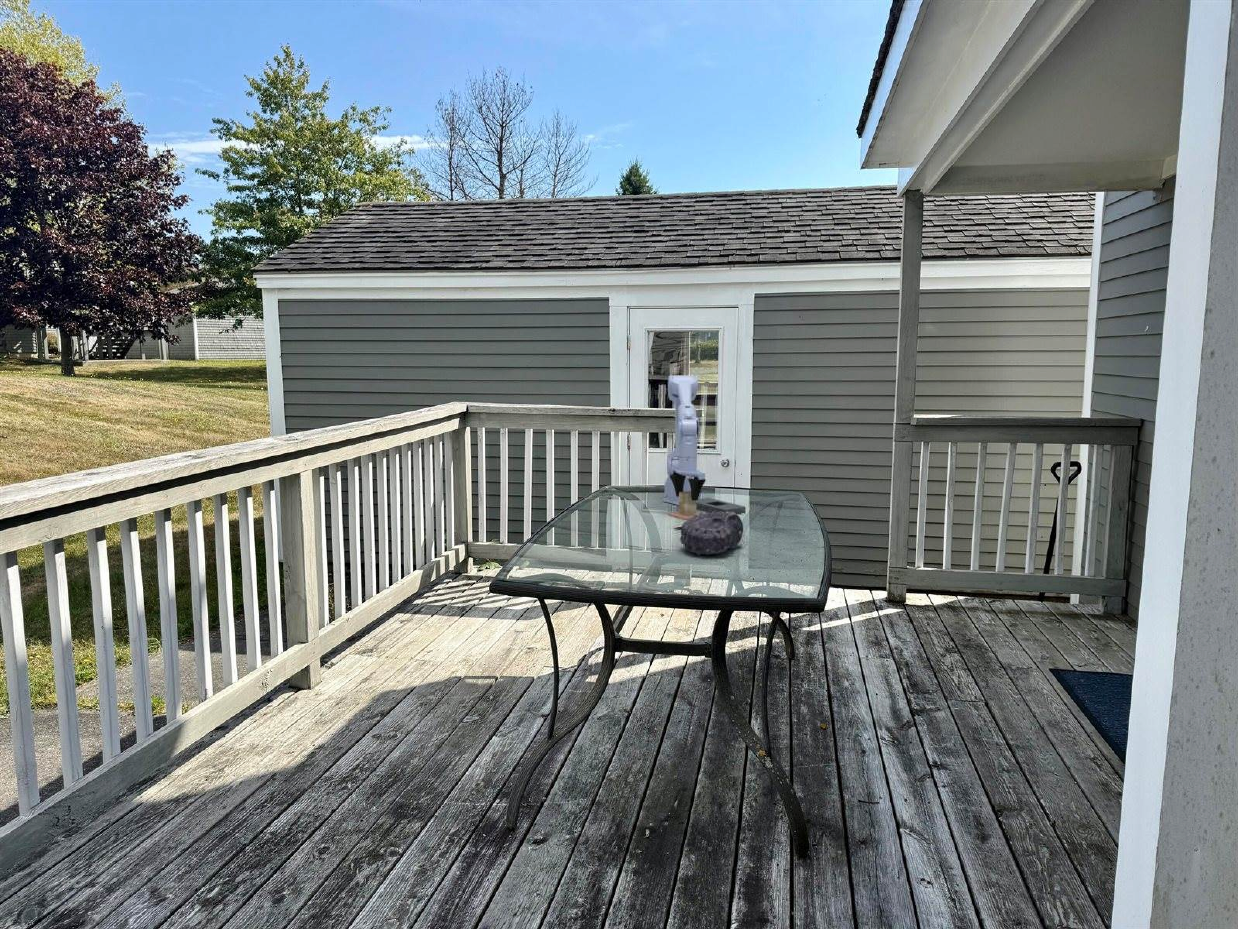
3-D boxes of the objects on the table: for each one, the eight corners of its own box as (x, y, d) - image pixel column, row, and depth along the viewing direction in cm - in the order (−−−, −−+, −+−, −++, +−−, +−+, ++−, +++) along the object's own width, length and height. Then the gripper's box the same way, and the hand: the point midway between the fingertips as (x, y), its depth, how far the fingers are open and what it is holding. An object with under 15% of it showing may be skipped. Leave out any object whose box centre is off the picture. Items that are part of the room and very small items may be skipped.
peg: (678, 513, 275) (679, 492, 274) (688, 512, 278) (688, 490, 277) (686, 515, 272) (687, 494, 271) (696, 514, 275) (696, 492, 273)
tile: (667, 515, 276) (667, 513, 276) (688, 511, 281) (688, 509, 281) (685, 520, 269) (685, 518, 269) (706, 516, 274) (706, 514, 274)
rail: (688, 507, 288) (688, 500, 288) (708, 504, 294) (708, 497, 293) (725, 516, 274) (725, 510, 274) (745, 513, 279) (745, 506, 279)
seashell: (745, 550, 240) (707, 517, 246) (760, 519, 231) (720, 486, 237) (701, 581, 227) (662, 545, 234) (715, 550, 219) (674, 514, 225)
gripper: (663, 454, 275) (663, 495, 277) (693, 460, 264) (692, 503, 266) (680, 453, 279) (679, 493, 282) (710, 458, 268) (709, 501, 270)
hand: (687, 498), depth 274 cm, fingers open, 7 cm apart
